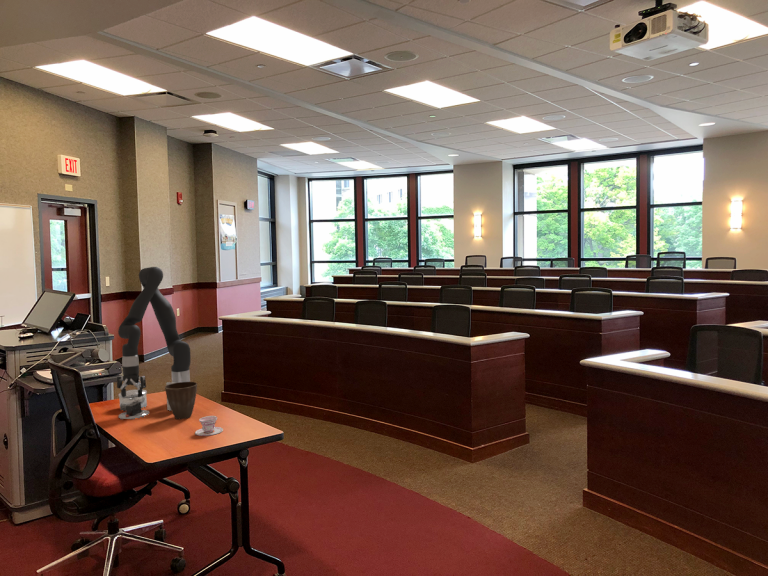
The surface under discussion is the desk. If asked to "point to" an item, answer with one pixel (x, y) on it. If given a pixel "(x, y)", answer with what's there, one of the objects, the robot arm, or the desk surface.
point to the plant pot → (181, 398)
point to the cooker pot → (132, 399)
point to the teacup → (208, 426)
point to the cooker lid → (133, 411)
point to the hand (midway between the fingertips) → (131, 396)
